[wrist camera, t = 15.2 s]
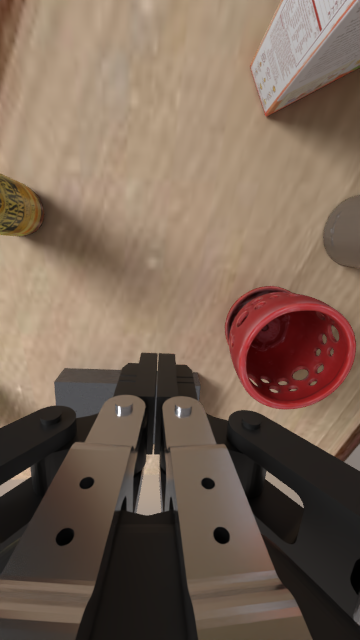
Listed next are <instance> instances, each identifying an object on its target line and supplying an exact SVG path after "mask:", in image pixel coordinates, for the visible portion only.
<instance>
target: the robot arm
mask: <svg viewBox="0 0 360 640" xmlns="http://www.w3.org/2000/svg"><path fill="white" fill-rule="evenodd" d="M323 238H324V246H325V249H326V251H327V253H328V255H329V256H330V257H331V258H332V259H333V260H334V261H335V262H337V263H339V264H341V265H345V266H350V267H356V268H360V195H357V196H354V197H351V198H348V199H346V200H345V201H343V202H342V203H340V204H339V205H338V206H337V207H336V208H335V209H334V210H333V212H332V213H331V214H330V216H329V218H328V220H327V222H326V225H325V228H324V236H323ZM156 377H157V353H141V357H140V362H139V363H128V364H127V365H126V366H125V367H123V368H122V370H121V373H120V377H119V380H118V383H117V386H116V389H115V392H114V395H113V397H112V398H110V399H108V400H107V401H106V402H105V403H104V404H103V406H102V408H101V410H100V412H99V413H97V414H94V415H90V416H85V417H80V418H76V413H75V411H74V410H73V409H72V408H70V407H67V406H50V407H46V408H43V409H40V410H38V411H36V412H34V413H32V414H30V415H27V416H25V417H23V418H21V419H19V420H17V421H15V422H13V423H10V424H8V425H6V426H4V427H2V428H0V485H1V484H3V483H5V482H6V481H8V480H10V479H11V478H13V477H14V476H16V475H18V474H19V473H21V472H22V471H24V470H26V469H27V468H29V467H31V476H32V477H30V478H29V479H27V480H26V481H24V482H22V483H21V484H20V485H18V486H16V487H15V488H13V489H12V490H10V491H9V492H7V493H6V494H4V495H3V496H1V497H0V640H360V471H358V470H357V469H355V468H353V467H351V466H350V465H348V464H346V463H344V462H343V461H341V460H339V459H338V458H336V457H334V456H332V455H331V454H329V453H327V452H325V451H324V450H322V449H320V448H319V447H317V446H315V445H313V444H312V443H310V442H308V441H306V440H305V439H303V438H301V437H300V436H298V435H296V434H294V433H293V432H291V431H289V430H287V429H286V428H284V427H282V426H281V425H279V424H277V423H275V422H274V421H272V420H270V419H268V418H267V417H265V416H263V415H261V414H259V413H257V412H253V411H247V410H241V411H236V412H234V413H232V414H231V415H230V417H229V420H228V421H227V420H223V419H219V418H215V417H213V416H210V415H208V414H207V413H205V410H204V407H203V405H202V404H201V403H200V402H199V401H198V398H197V393H196V388H195V384H194V378H193V373H192V370H191V369H190V368H189V367H188V366H187V365H176V362H175V354H162V353H159V361H158V381H157V400H156V424H155V447H154V454H160V466H159V481H160V496H161V511H162V512H161V513H157V514H154V515H149V516H145V515H140V514H137V513H136V512H137V506H138V501H139V495H140V490H141V484H142V479H143V471H144V465H145V462H146V454H152V451H153V433H154V416H155V399H156ZM266 471H268V472H269V473H271V474H272V475H273V476H275V477H276V478H278V479H279V480H280V481H282V482H283V483H284V484H286V485H287V486H288V487H290V488H291V489H293V490H294V491H295V492H296V493H297V494H298V495H299V497H300V498H301V500H302V502H303V505H304V508H302V507H301V506H300V505H298V504H297V503H296V502H294V501H293V500H292V499H291V498H289V497H288V496H287V495H285V494H284V493H283V492H281V491H280V490H279V489H277V488H276V487H275V486H273V485H272V484H271V483H270V482H268V481H267V480H266V479H265V476H266Z"/></svg>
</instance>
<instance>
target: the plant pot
mask: <svg viewBox="0 0 360 640" xmlns="http://www.w3.org/2000/svg"><path fill="white" fill-rule="evenodd" d="M323 315H324V316H323ZM332 325H333V326H334V327H335V328H336V329H337V330H338V333H339V340H338V341H337V340H336V339H335V338H334V336H333V334H332V329H331V326H332ZM323 334H325V335H326V337H327V342H326V343H325V344H324V343H323V341H322V336H323ZM225 335H226V339H227V342H228V345H229V348H230V354H231V358H232V361H233V364H234V368H235V370H236V373H237V375H238V377H239V379H240V381H241V383H242V385H243V387H244V388H245V390H246V391H247V392H248V393H249V395H250V396H252V397H253V398H254V399H255V400H257V401H258V402H260V403H262V404H264V405H266V406H269V407H272V408H277V409H296V408H302V407H306V406H309V405H312V404H314V403H316V402H318V401H320V400H322V399H324V398H326V397H327V396H328V395H330V394H331V393H332V392H334V391H335V390H336V389H337V388H338V387H339V386H340V385H341V384H342V382H343V381H344V380H345V378H346V377H347V375H348V373H349V372H350V370H351V367H352V365H353V362H354V358H355V353H356V341H355V335H354V332H353V329H352V327H351V325H350V324H349V322H348V321H347V320H346V318H345V317H344V316H343V315H342V314H341V313H339V312H338V311H337V310H335V309H334V308H332V307H331V306H329V305H327V304H326V303H324V302H322V301H320V300H317V299H315V298H312V297H309V296H305V295H300V294H295V293H291V292H290V291H288V290H286V289H283V288H280V287H275V286H266V287H260V288H256V289H253V290H251V291H249V292H247V293H246V294H244V295H243V296H241V297H240V298H239V299H238V300H237V301H236V302H235V303H234V304H233V306H232V307H231V309H230V311H229V313H228V315H227V318H226V323H225ZM332 348H333V350H334V353H333V355H332V356H331V354H330V350H331V349H332ZM318 349H320V350H321V353H320V355H319V356H317V355H316V351H317V350H318ZM321 365H323V366H324V369H323V371H322V372H320V373H317V369H318V368H319V366H321ZM301 369H305V370H307V371H308V372H309V374H308V376H307V377H306V378H305V379H303V380H295V379H294V378H293V377H292V376H293V374H294V373H295V372H296V371H298V370H301ZM249 378H251V379H252V380H253V381H254V382H255V383H256V384H257V385H258V386H256V385H254V384H253V383H252V382H251V380H250V379H249ZM261 379H265V380H267V381H268V382H269V383H264V382H263V381H262V380H261ZM280 381H285V382H287V383H288V384H287V385H279V384H278V382H280ZM313 381H317V383H316V384H315V385H313V386H310V384H311V383H312V382H313ZM269 389H275V390H277V391H278V393H274V392H272V391H270V390H269ZM291 389H297V390H296V391H290V390H291Z"/></svg>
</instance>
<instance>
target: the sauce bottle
mask: <svg viewBox="0 0 360 640" xmlns="http://www.w3.org/2000/svg"><path fill="white" fill-rule="evenodd" d="M43 217H44V210H43V207H42V203H41V201H40V199H39V197H38V196H37V195H36V194H35V193H34V192H33V191H32V190H31V189H30V188H29V187H27V186H26V185H24V184H22V183H20V182H18V181H15V180H13V179H11V178H9V177H7V176H4V175H2V174H0V235H8V236H23V235H28V234H31V233H33V232H36V231H37V230H38V228H39V227H40V225H41V224H42V222H43Z"/></svg>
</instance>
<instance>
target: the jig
mask: <svg viewBox="0 0 360 640" xmlns="http://www.w3.org/2000/svg"><path fill="white" fill-rule="evenodd" d="M120 373H121V370H100V369H69V368H64V370H63V371H62V372H61V374H60V375H59V376H58V378H57V379H56V380H55V382H54V384H55V397H56V406H67V407H70V408H72V409H73V410H74V411H75V413H76V418H80V417H85V416H90V415H94V414H97V413H99V412H100V410H101V408H102V406H103V404H104V403H105V402H106V401H107V400H108V399H110V398H112V397H113V395H114V392H115V389H116V386H117V383H118V380H119V377H120ZM192 373H193V378H194V384H195V388H196V393H197V398H198V401H199V396H200V382H199V378H198V373H195V372H192ZM157 381H158V371H157V377H156V399H155V416H154V433H153V444H155V424H156V400H157Z"/></svg>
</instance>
